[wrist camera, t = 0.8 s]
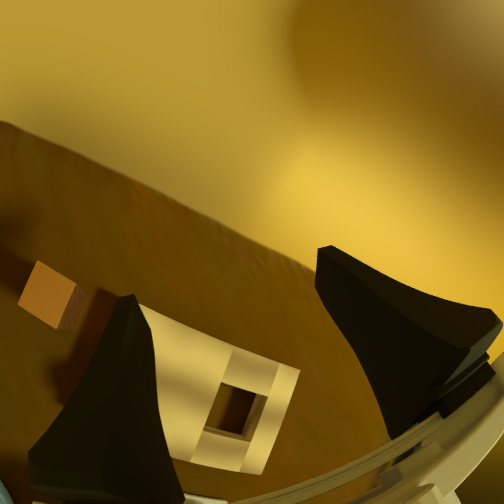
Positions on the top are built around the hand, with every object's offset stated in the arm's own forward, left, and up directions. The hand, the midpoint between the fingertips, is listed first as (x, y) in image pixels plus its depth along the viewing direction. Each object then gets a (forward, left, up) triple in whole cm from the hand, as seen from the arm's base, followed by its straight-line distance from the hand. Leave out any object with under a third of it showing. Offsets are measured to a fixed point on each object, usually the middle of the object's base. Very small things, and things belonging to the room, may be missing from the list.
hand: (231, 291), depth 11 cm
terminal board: (-7, -5, -17) cm, 19 cm away
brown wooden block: (-4, +9, -17) cm, 20 cm away
